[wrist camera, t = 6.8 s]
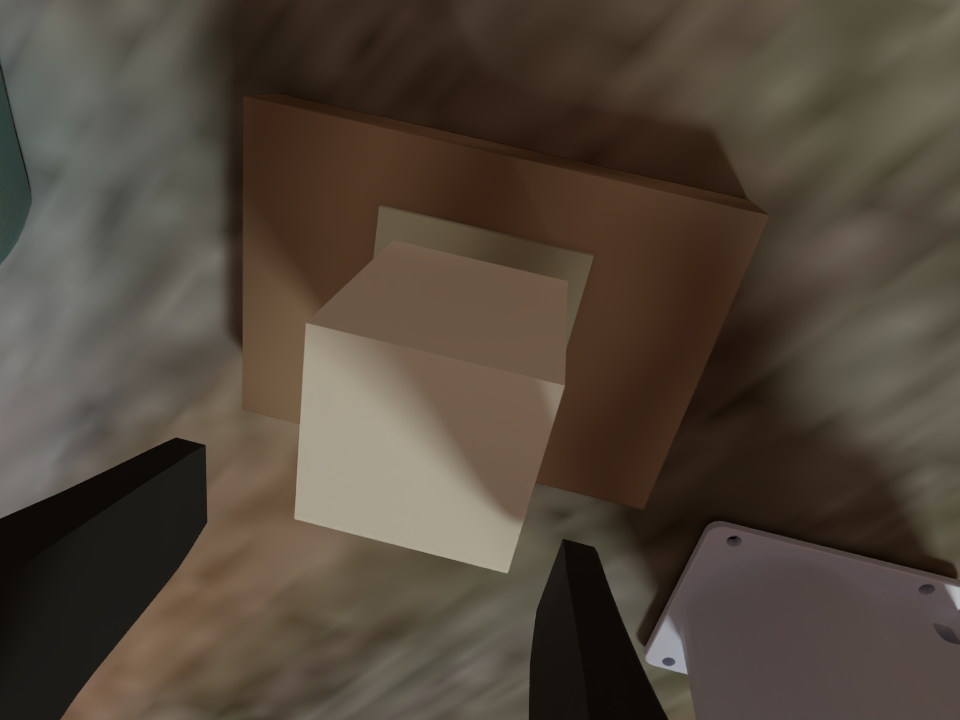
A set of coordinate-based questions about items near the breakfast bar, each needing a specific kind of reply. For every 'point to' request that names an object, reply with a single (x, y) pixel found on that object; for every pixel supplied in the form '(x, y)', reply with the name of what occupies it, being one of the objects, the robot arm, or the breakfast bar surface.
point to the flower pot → (11, 181)
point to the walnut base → (503, 241)
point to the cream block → (431, 403)
